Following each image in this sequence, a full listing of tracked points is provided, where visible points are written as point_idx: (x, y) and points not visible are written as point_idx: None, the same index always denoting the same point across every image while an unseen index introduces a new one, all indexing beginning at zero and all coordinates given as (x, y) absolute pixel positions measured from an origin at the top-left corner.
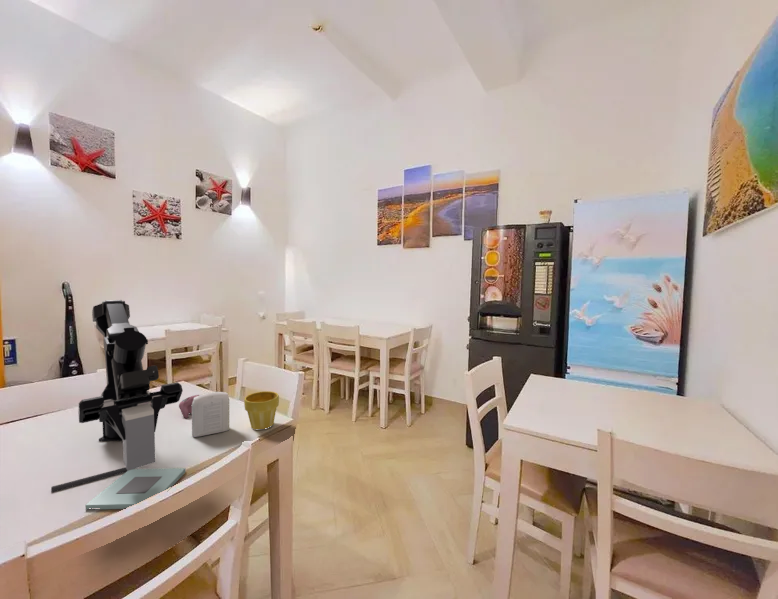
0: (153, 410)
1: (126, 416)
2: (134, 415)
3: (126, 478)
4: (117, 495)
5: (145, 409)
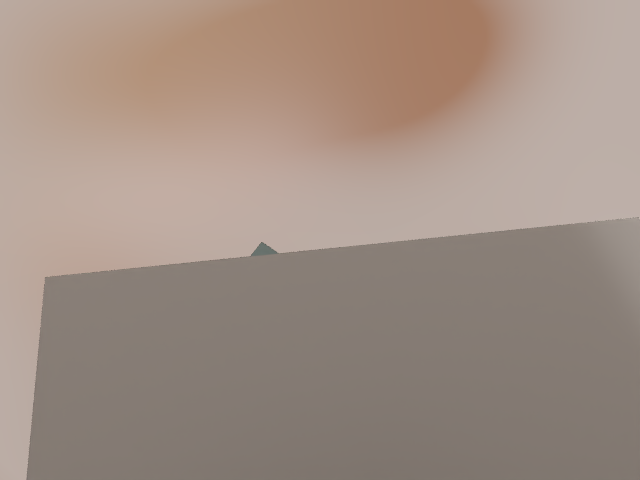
0: (61, 285)
1: (614, 226)
2: (472, 249)
3: None
4: None
5: (242, 469)
